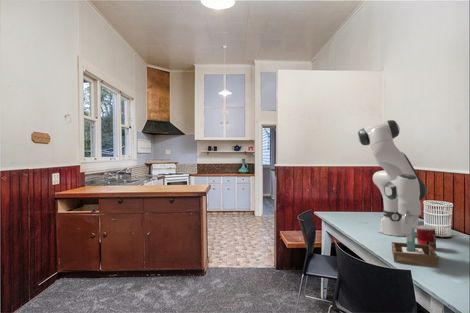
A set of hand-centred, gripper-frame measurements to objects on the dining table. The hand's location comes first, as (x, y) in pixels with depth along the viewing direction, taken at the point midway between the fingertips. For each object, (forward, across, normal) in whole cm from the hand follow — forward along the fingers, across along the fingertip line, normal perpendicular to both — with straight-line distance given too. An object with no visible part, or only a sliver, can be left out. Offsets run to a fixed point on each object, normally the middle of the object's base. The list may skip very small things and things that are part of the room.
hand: (411, 239), depth 123 cm
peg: (+5, 0, 0) cm, 5 cm away
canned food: (+9, +21, -4) cm, 23 cm away
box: (+9, 0, 0) cm, 9 cm away
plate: (+8, 0, 0) cm, 8 cm away
